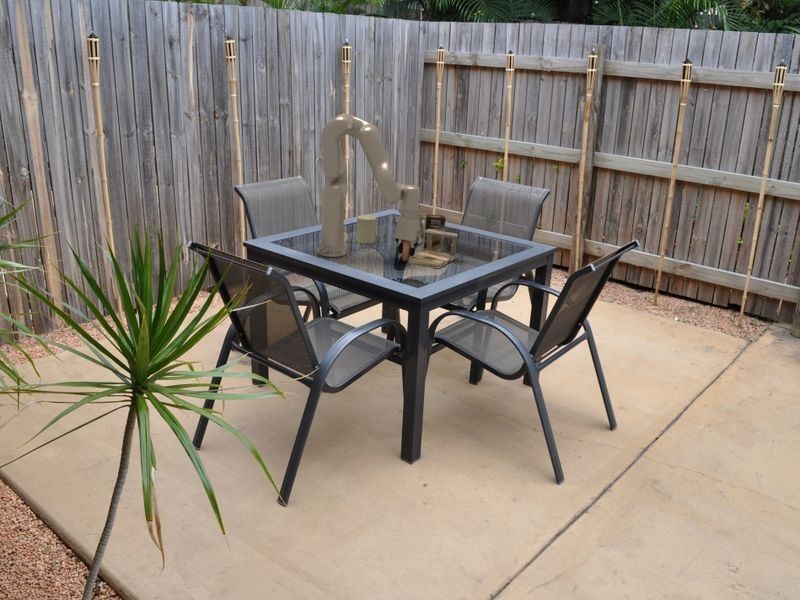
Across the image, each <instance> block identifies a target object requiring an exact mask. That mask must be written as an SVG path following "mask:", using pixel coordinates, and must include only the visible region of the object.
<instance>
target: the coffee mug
mask: <svg viewBox="0 0 800 600" xmlns="http://www.w3.org/2000/svg"><path fill="white" fill-rule="evenodd" d="M425 214H427V213H425V212H418V218H419V221H420V236H423V230H424V220H425Z"/></svg>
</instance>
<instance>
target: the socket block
mask: <svg viewBox="0 0 800 600" xmlns="http://www.w3.org/2000/svg"><path fill="white" fill-rule="evenodd" d="M425 232H426V233H428V239H427V250H426V251H422V252H420V253H418V254H414V256H410V258H409V261H408V264H413V265H418V266H421V265H422V266H423V267H426V266H429V267H428V268H430V267H437V268H438V267H440V266H442V265H444V264H446V263H448V262H450V261H451V260H453V259H455V260H456V252H457V251H456V250H457V241H458V234H457V233H454V232H447V231H445V230H444V231H439V230H434V229H427V230H425ZM433 234H436V235H441V236H444V237H447V238H451V246H450V254H448V253H444V252H440V251H431V247H432V236H433ZM422 266H421V267H422Z"/></svg>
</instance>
